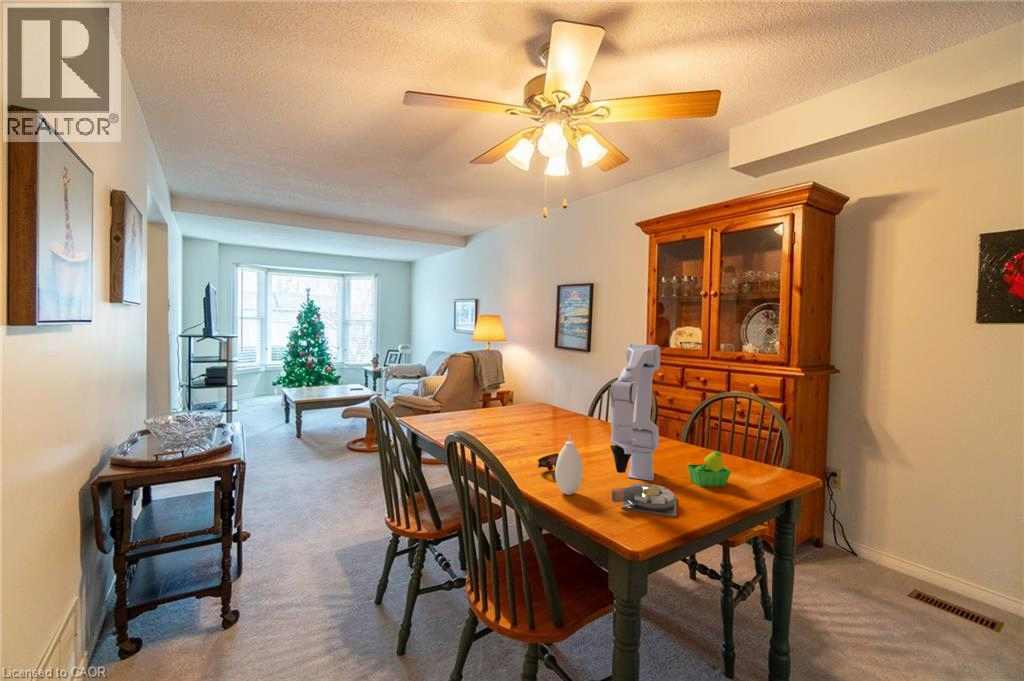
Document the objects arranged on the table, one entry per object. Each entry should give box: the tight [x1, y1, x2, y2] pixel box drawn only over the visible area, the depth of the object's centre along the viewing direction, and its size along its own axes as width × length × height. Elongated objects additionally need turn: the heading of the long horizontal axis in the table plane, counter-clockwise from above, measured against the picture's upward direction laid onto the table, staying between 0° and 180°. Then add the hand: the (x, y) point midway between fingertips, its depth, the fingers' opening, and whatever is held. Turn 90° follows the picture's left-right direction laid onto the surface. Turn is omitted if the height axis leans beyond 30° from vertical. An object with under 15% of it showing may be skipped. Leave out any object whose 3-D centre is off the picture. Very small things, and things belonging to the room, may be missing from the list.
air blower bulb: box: [554, 434, 583, 496], centre depth 134 cm, size 8×8×18 cm
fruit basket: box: [686, 450, 732, 487], centre depth 145 cm, size 11×9×11 cm
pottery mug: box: [537, 452, 559, 481], centre depth 151 cm, size 12×9×8 cm
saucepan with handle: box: [611, 483, 675, 504], centre depth 126 cm, size 12×18×3 cm
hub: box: [621, 483, 677, 518], centre depth 128 cm, size 14×14×5 cm
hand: (620, 472), depth 128 cm, fingers closed
